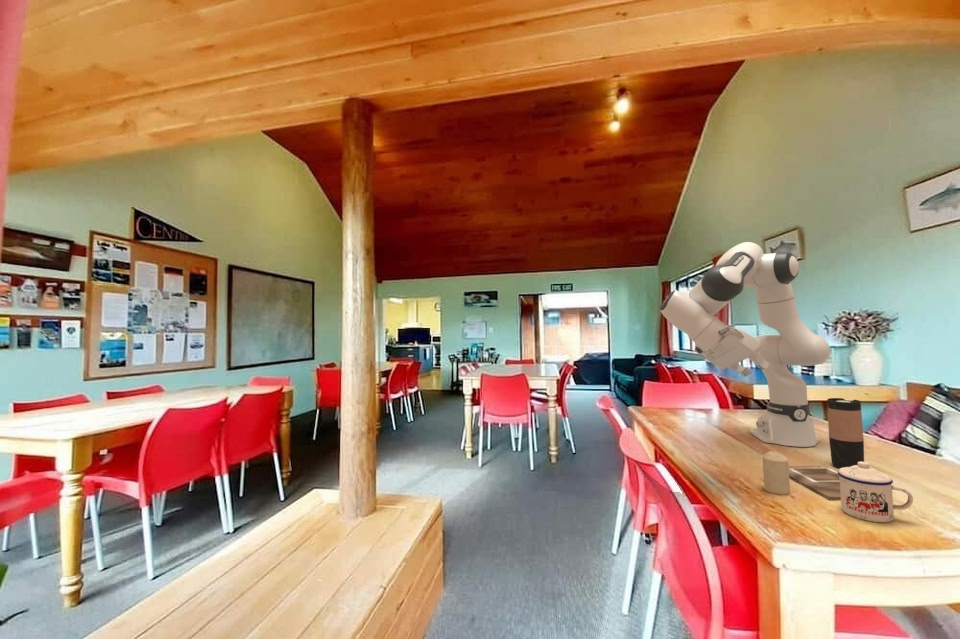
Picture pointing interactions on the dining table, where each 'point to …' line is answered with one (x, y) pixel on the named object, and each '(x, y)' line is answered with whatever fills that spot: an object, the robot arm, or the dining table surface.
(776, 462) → the candle
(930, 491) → the dining table surface
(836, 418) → the travel mug
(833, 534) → the dining table surface
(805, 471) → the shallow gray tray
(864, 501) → the teacup with lid
